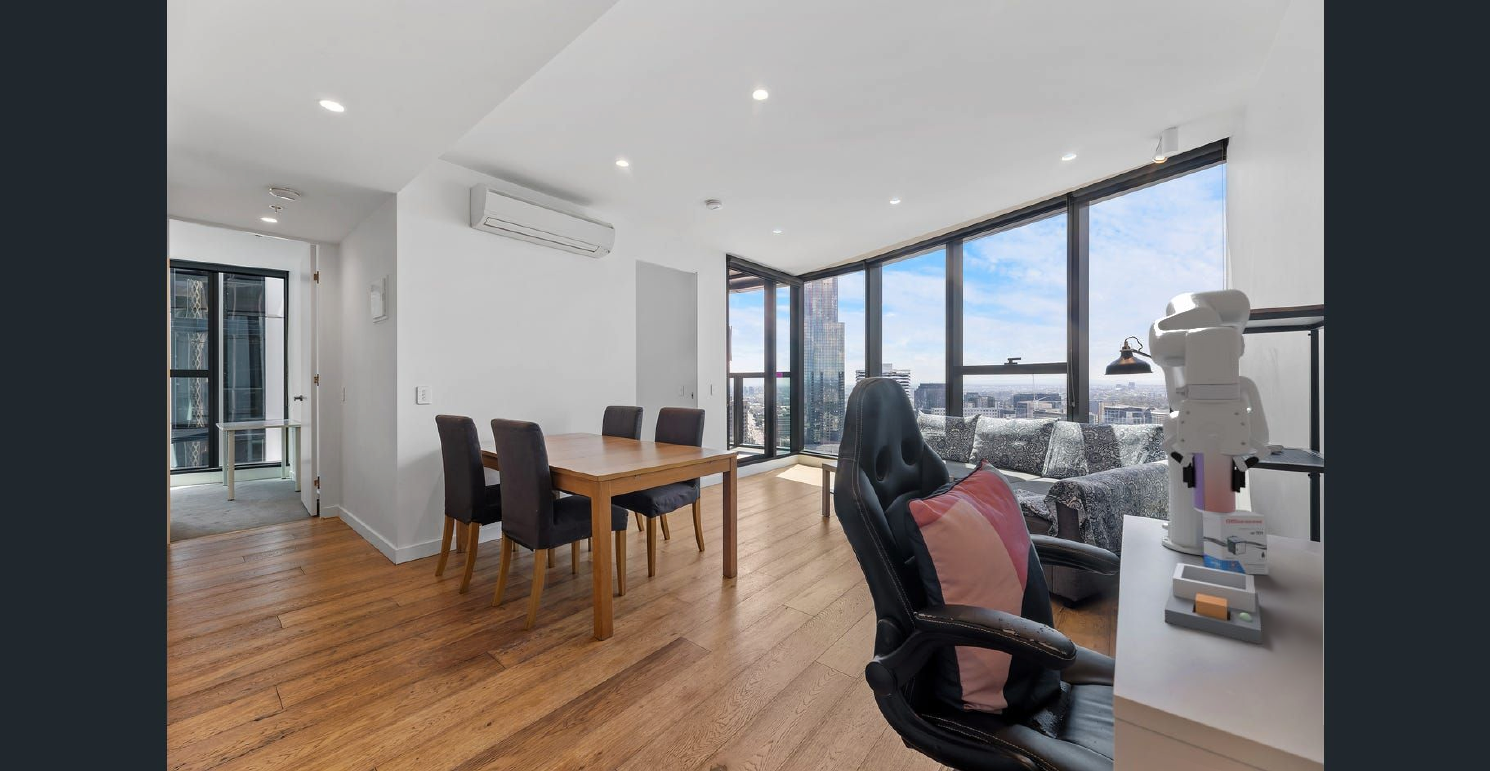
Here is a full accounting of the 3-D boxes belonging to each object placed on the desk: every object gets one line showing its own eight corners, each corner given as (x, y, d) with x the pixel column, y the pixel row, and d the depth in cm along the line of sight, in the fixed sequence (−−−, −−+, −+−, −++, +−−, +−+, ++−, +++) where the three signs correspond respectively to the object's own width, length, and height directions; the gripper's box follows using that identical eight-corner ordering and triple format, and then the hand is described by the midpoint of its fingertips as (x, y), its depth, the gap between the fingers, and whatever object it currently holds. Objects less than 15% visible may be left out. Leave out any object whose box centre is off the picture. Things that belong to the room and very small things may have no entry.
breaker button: (1197, 612, 85) (1196, 593, 85) (1227, 619, 82) (1226, 599, 82) (1195, 620, 82) (1195, 600, 82) (1226, 627, 79) (1226, 606, 79)
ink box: (1221, 574, 102) (1220, 515, 102) (1202, 565, 107) (1200, 509, 107) (1269, 575, 101) (1268, 515, 101) (1247, 566, 106) (1246, 509, 106)
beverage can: (1185, 510, 99) (1184, 432, 99) (1204, 505, 101) (1203, 429, 101) (1223, 517, 93) (1222, 435, 93) (1243, 513, 96) (1241, 432, 95)
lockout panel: (1175, 588, 96) (1174, 561, 96) (1258, 604, 89) (1257, 575, 89) (1164, 621, 83) (1164, 590, 83) (1261, 644, 76) (1260, 610, 76)
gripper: (1151, 394, 100) (1153, 487, 101) (1279, 394, 88) (1280, 499, 89) (1155, 392, 105) (1157, 480, 106) (1276, 392, 94) (1278, 491, 94)
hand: (1213, 488), depth 97 cm, fingers closed on beverage can, 6 cm apart
